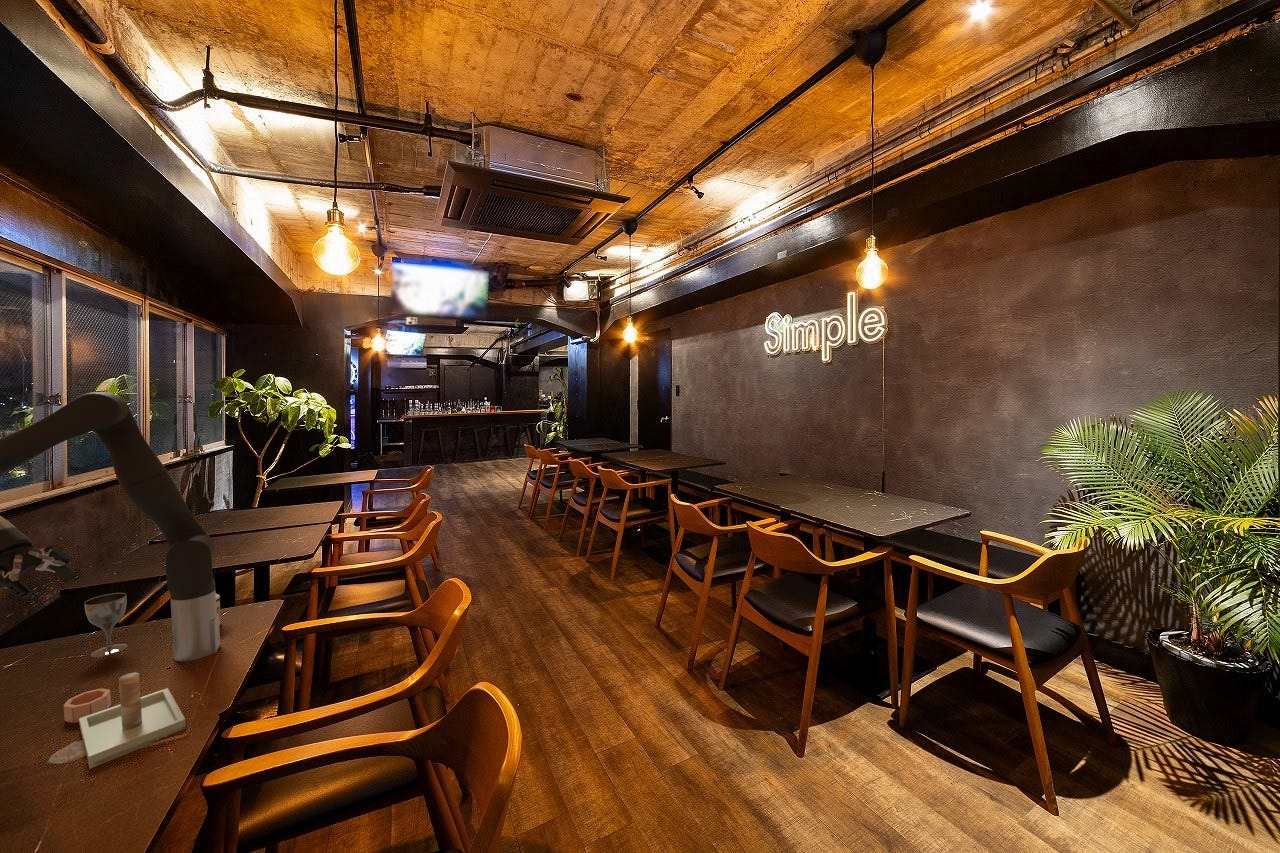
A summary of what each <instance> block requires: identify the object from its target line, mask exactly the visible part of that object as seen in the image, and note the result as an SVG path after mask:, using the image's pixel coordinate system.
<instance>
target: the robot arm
mask: <svg viewBox="0 0 1280 853" xmlns="http://www.w3.org/2000/svg"><path fill="white" fill-rule="evenodd" d="M90 432H95V433H96V435H97V436H98V438H100V440H101V441H102V442H103V444H104V446H105V448H106V449H107V451H108V454H109V458H110V460H111V463H112V468H113V471H114V474H115V476H116V479H117V481H118V483H119V485H120V487H121V488H122V489H123V491H124V493H125V494H126V496H127V497H128V499H129V500H130V502H131V503H132V505H134V506H135V507H136V509H138V511H140V512H141V513H142V514H143V515H144V516H146V518H148V519H150V520H151V521H152V522H153V523H154V525H155V526H157V527H158V529H159V530H160V531H161V533H162V535H163V537H164V539H165V541H166V543H167V544H168V547H169V549H168V550H167V552H166V554H165V560H164V561H165V572H166V584H167V590H168V592H169V596H170V597H169V598H170V612H171V613H170V614H171V630H172V648H173V659H174V660H175V661H177V662H189V661H194V660H199V659H202V658H205V657H208V656H211V655H213V654H217V653H218V650H219V648H220V645H221V636H220V632H221V631H220V625H219V614H218V613H217V610H216V594H217V593H216V581H215V579H214V576H213V575H214V574H213V559H212V558H213V555H214V553H215V542H214V540H213V539H212V538H211V537H210V536H209V534H208V533H207V532H206V531H205V530H204V528H203V527H202V525H201V524H200V523H199V522H198V520H196V518H195V517H194V516H193V514H192V512H191V511H190V509H189V507H188V504H186V501H185V499H184V497H183V495H182V493H181V492H180V491H179V488H178V487H177V486H178V485H176V482H175V481H174V479H173V478H172V476H171V475H170V473H169V472H168V470H167V468H166V466H164V464H163V463H162V461H161V460H160V459H159V456H157V454H156V453H155V451H154V450H153V448H152V447H151V446H150V444H149V443H148V442H147V440H146V439H145V437H144V436H143V434H142V432H141V430H140V428H139V426H138V423H137V422H136V420H135V418H134V415H133V413H132V411H131V408H130V406H129V404H128V403H127V402H126V400H124V399H123V398H122V397H121V396H119V395H118V394H114V393H112V392H107V391H100V392H99V391H97V392H96V391H94V392H87V393H83V394H81V395H79V396H77V397H76V398H73V400H72V401H71V400H70V402H68V403H67V404H65V405H64V406H62V407H60V408H59V409H57V410H56V411H54V412H53V413H51V414H49V415H47V416H45V417H43V418H42V419H41V420H40V419H39V420H38V421H36V422H34V423H32V424H30V425H28V426H26V427H24V428H21V429H19V430H17V431H15V432H12V433H9V434H7V435H5V436H2V437H0V475H3V474H5V473H7V472H10V471H11V470H13V469H16V468H18V467H19V466H22V465H24V464H25V463H27V462H29V461H31V460H33V459H35V458H36V457H38V456H40V455H41V454H43V453H45V452H46V451H48V450H49V449H51V448H54V447H55V446H57V445H59V444H61V443H64V442H66V441H68V440H71V439H73V438H75V437H78V436H81V435H84V434H87V433H90ZM71 561H72V557H70V556H69V555H67V554H66V553H65V552H63V550H61V549H59V548H58V547H57V546H56V545H54V544H51V543H49V544H47V545H46V546H45V547H43V548H36V547H34V546H33V544H32V540H31V539H30V538H29V537H28V536H26V535H25V534H24V533H23V532H22V531H21V530H19V529H18V528H17V527H16V526H14V525H13V524H12V522H10V521H9V520H8V519H6V518H4V517H3V516H1V515H0V572H2V573H0V588H1V589H2V588H4V589H8V590H10V592H12V593H13V595H15V596H16V597H18V598H22V599H27V598H29V597H30V596H31V595H32V594H33V593H34V590H33V589H32V588H31V587H30V586H29V585H28V584H27V583H26V582H24V581H23V580H22V579H19V577H20V575H22V574H25V573H29V572H32V571H39V572H43V571H47V572H52V573H53V574H54V576H56V577H57V578H58V579H60V580H61V581H62V582H63V583H64V584H69V583H72V582H73V581H74V580H75V579H76V574H75V573H74V572H73V571H72V570H70V568H68V564H69V563H70V562H71ZM42 562H44V563H42Z"/></svg>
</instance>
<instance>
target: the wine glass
mask: <svg viewBox="0 0 1280 853" xmlns="http://www.w3.org/2000/svg"><path fill="white" fill-rule="evenodd" d="M127 603H128V599H127V593H125V592H112V593H106V594H102V595H98V596H95V597H92V598H90V599H89V598H88V599H87V600H85V601H84V610H85V615H86V617H87V620H88V622H89V623H90V624H92V625H93V626H95V627H98V628H100V629H101V630H102V631H103V632H104V634H105V638H106V646H104V647H100V648H99V649H97V650H94V651H93V652H91V654H90V657H92V658H103V657H108V656H111V655H115V654H119V653H120V652H122V651H124V650H126V649H127V648H128V647H129V644H127V643H115V644H112V631H113V628H114V627H115V625H116V624H117V623H118V622H120V620H121V619H122V618H123V616H125V613H126V610H127Z"/></svg>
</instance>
